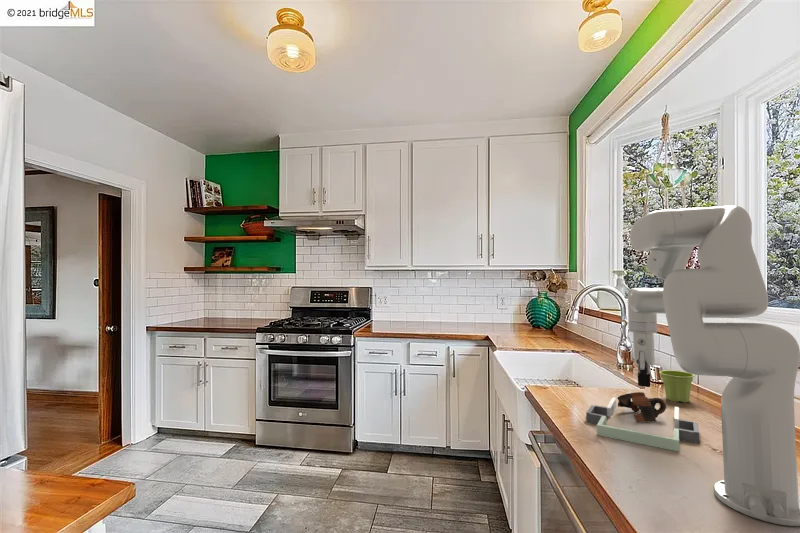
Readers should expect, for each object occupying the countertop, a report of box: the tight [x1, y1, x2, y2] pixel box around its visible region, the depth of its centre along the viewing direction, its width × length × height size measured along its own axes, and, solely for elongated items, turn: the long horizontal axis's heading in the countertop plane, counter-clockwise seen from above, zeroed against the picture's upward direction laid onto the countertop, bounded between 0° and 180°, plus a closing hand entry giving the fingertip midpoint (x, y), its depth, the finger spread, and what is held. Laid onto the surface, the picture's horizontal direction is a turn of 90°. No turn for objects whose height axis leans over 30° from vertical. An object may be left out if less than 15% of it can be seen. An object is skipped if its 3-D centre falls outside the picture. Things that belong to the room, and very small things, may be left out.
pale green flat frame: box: [585, 396, 701, 453], centre depth 105 cm, size 28×25×2 cm
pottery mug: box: [617, 391, 667, 423], centre depth 110 cm, size 12×10×8 cm
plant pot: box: [659, 369, 695, 403], centre depth 126 cm, size 9×9×9 cm
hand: (644, 385), depth 120 cm, fingers closed
